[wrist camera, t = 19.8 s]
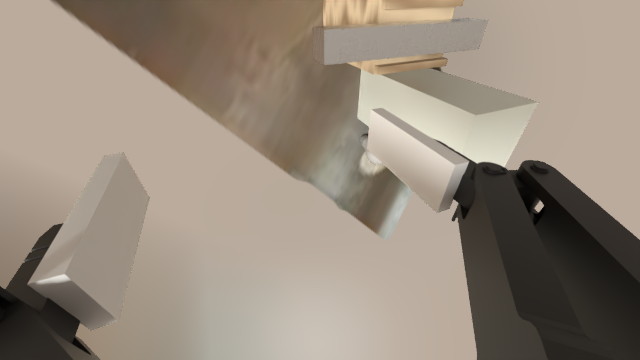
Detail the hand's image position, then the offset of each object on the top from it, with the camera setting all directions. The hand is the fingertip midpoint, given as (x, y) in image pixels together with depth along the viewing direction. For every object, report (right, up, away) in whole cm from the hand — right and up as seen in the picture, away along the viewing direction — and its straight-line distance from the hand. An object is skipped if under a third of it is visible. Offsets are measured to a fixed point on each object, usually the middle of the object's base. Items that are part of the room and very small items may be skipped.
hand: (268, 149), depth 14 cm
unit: (+18, +20, +46) cm, 53 cm away
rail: (+13, +18, +20) cm, 30 cm away
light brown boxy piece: (+9, +29, +35) cm, 46 cm away
